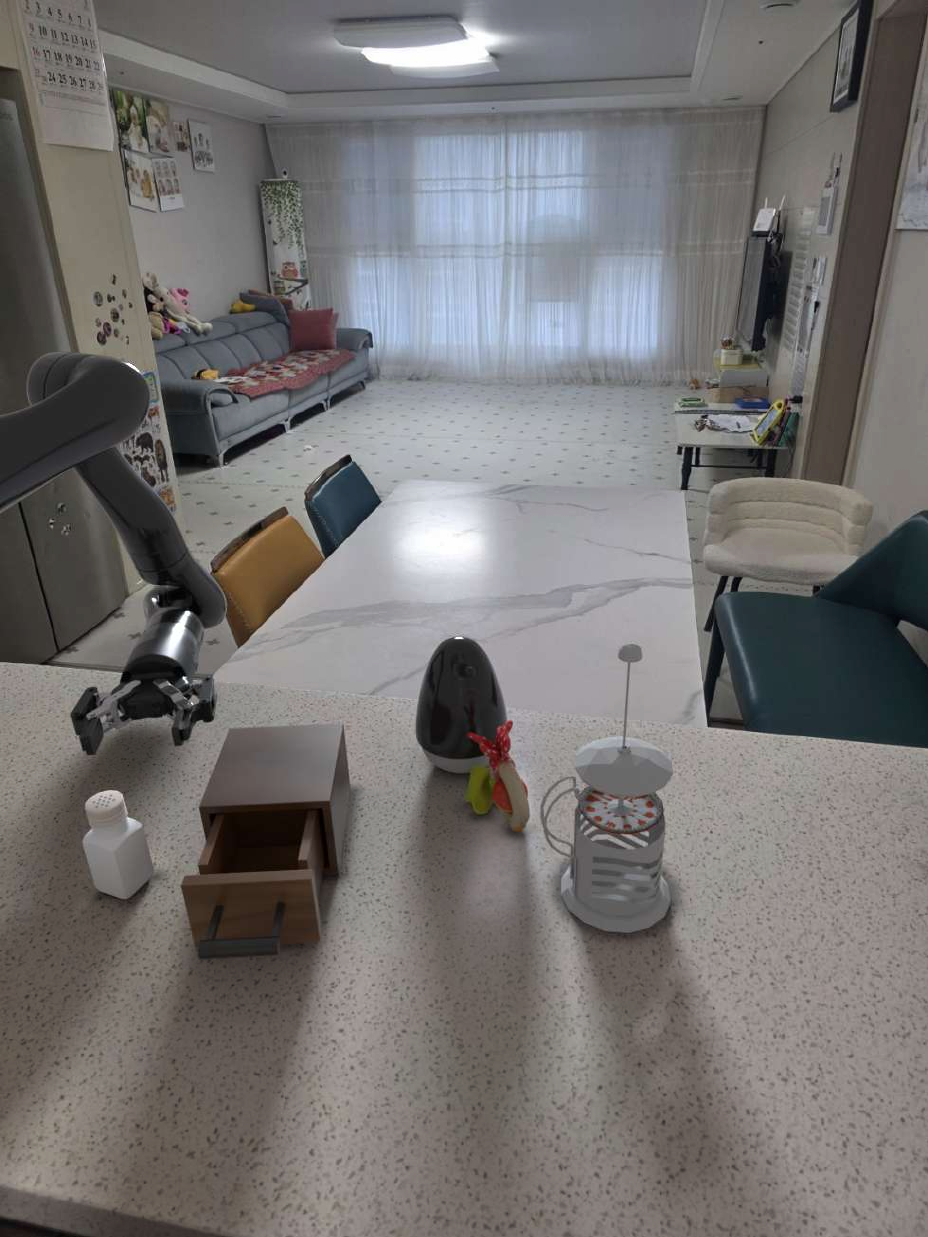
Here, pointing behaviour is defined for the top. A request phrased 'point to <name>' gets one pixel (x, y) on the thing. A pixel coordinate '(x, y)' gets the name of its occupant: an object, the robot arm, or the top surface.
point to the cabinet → (284, 778)
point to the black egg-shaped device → (458, 705)
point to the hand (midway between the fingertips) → (133, 743)
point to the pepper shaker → (116, 846)
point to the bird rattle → (498, 780)
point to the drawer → (257, 883)
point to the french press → (617, 830)
